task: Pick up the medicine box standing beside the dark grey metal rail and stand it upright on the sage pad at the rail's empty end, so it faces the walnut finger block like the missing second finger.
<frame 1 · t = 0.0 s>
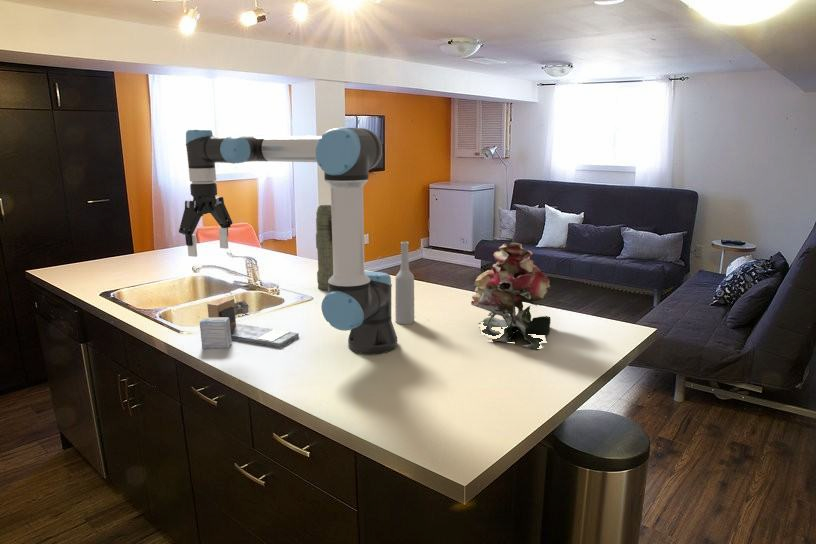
hand: (209, 252, 173), 28 cm above the worktop, fingers open, 13 cm apart
egg carton: (233, 314, 205), on the worktop
thermos: (328, 288, 239), on the worktop
rail: (250, 336, 181), on the worktop
medicine box: (217, 346, 172), on the worktop
bottle: (404, 322, 195), on the worktop
rose bouquet: (509, 333, 184), on the worktop
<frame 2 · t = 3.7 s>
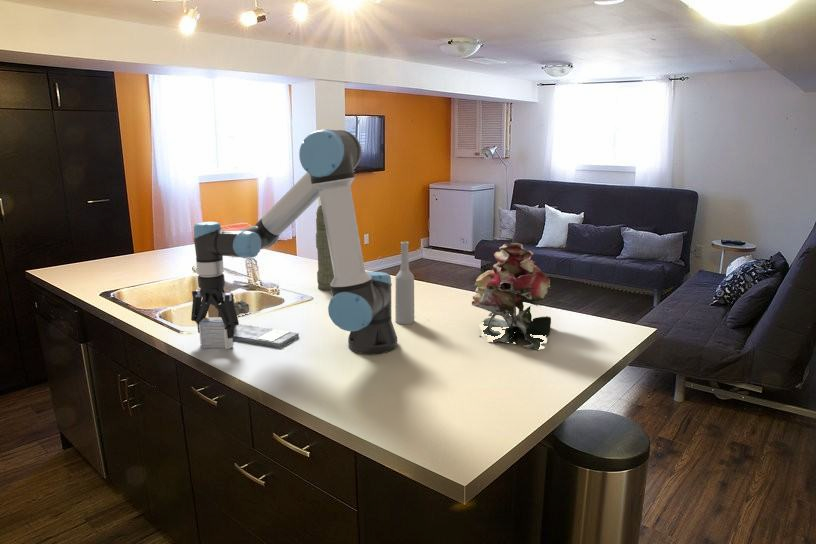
hand: (216, 345, 172), 0 cm above the worktop, fingers open, 9 cm apart
medicine box: (217, 346, 173), on the worktop, touching gripper
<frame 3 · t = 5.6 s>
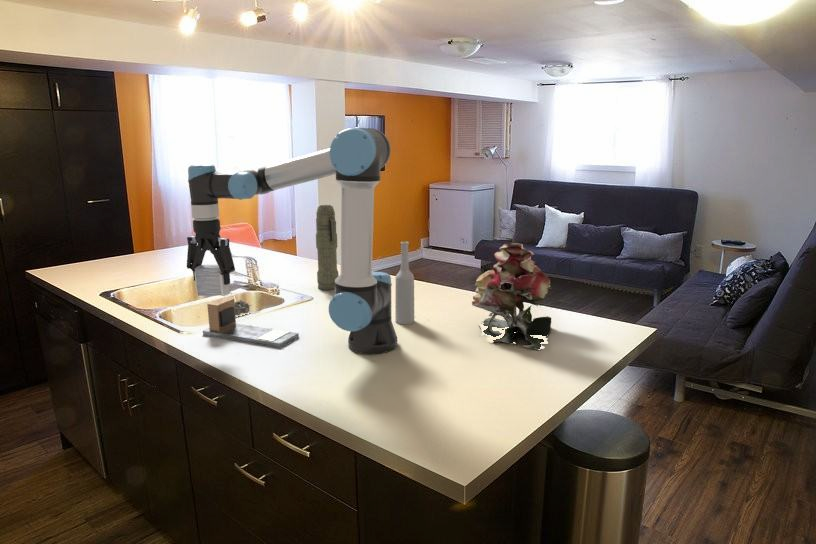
hand: (212, 293, 168), 17 cm above the worktop, fingers closed on medicine box, 9 cm apart
medicine box: (213, 294, 169), point 16 cm above the worktop, touching gripper
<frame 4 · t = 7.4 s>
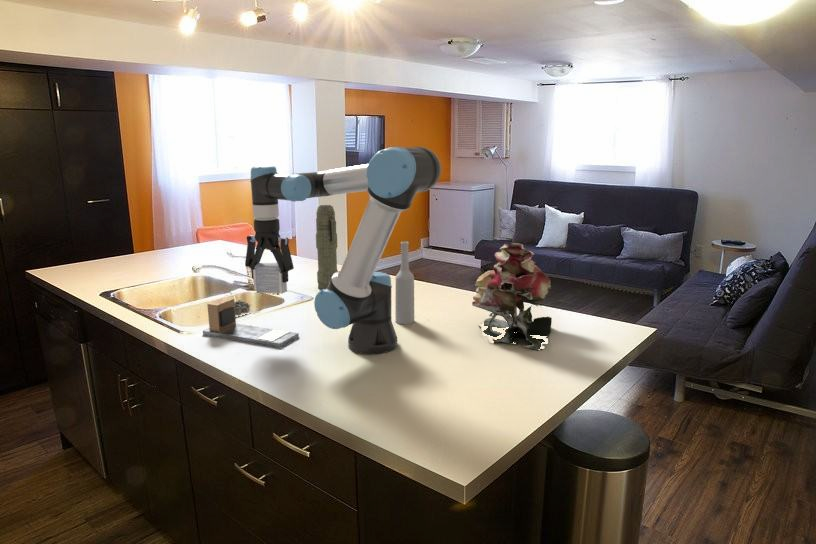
hand: (270, 290, 174), 16 cm above the worktop, fingers closed on medicine box, 9 cm apart
medicine box: (270, 292, 174), point 16 cm above the worktop, touching gripper
when the fingers open (3 cm above the worktop, at t = 10.5 s): medicine box stays where it is, resting on rail.
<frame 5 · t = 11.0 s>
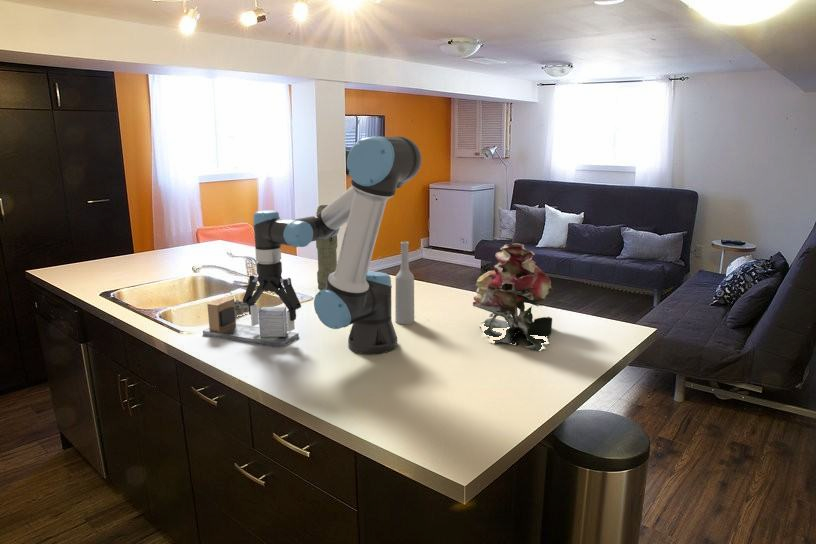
hand: (272, 327, 176), 4 cm above the worktop, fingers open, 13 cm apart
medicine box: (274, 335, 177), point 1 cm above the worktop, touching rail
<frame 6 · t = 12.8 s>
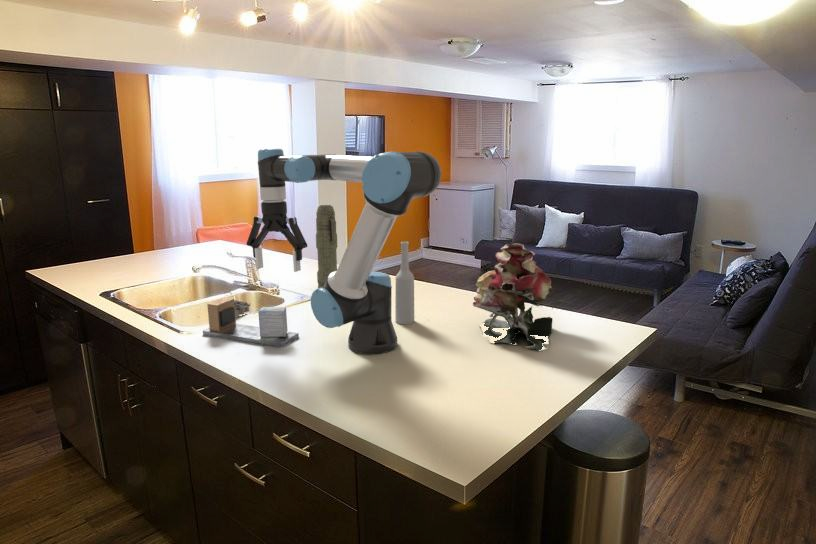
hand: (278, 269, 174), 22 cm above the worktop, fingers open, 13 cm apart
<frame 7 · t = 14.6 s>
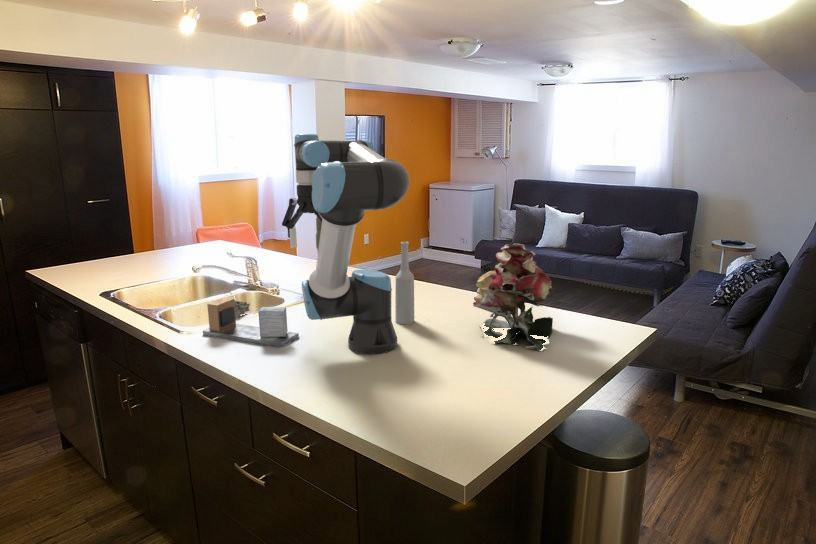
hand: (311, 249, 184), 27 cm above the worktop, fingers open, 13 cm apart
at the end: medicine box 0.2 cm from the target spot on the rail, point 1.5 cm above the rail's base; medicine box tilted 0°; the gripper is holding nothing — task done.
